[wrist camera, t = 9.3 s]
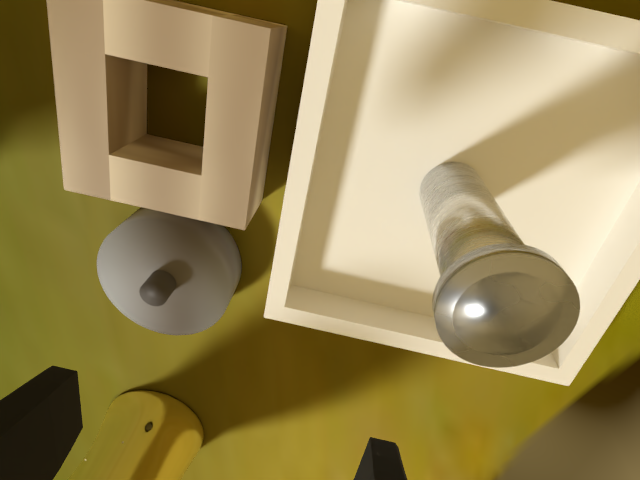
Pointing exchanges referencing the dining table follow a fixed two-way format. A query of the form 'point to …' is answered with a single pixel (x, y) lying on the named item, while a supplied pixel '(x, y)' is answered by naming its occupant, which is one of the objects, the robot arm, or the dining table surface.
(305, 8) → the dining table surface
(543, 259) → the pin
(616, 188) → the tray
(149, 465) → the beer glass
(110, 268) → the block
